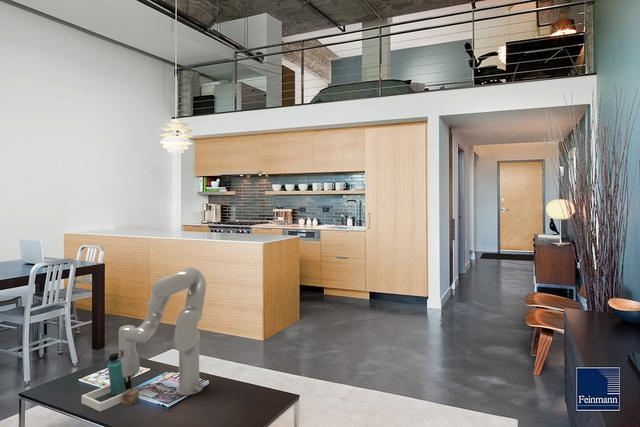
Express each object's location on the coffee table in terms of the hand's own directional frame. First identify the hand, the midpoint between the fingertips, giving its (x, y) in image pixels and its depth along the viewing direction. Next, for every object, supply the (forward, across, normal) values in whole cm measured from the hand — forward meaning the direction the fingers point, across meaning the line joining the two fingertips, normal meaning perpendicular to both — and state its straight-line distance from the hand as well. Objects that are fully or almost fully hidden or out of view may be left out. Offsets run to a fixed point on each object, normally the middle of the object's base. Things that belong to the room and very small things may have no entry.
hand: (127, 388), depth 205 cm
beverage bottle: (+1, -5, 0) cm, 5 cm away
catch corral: (+1, -11, 0) cm, 11 cm away
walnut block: (+2, -6, -11) cm, 13 cm away
